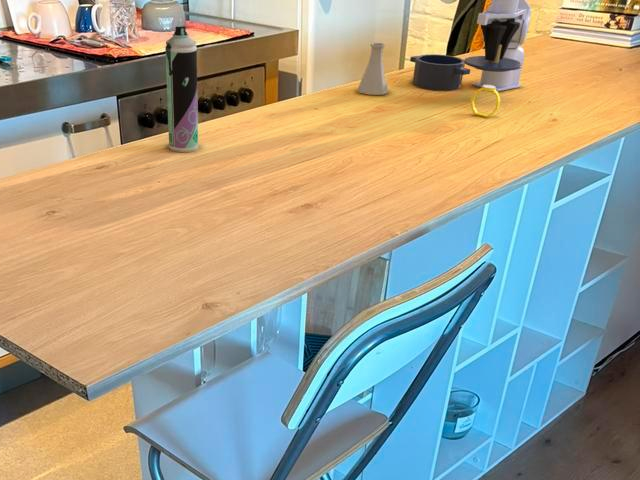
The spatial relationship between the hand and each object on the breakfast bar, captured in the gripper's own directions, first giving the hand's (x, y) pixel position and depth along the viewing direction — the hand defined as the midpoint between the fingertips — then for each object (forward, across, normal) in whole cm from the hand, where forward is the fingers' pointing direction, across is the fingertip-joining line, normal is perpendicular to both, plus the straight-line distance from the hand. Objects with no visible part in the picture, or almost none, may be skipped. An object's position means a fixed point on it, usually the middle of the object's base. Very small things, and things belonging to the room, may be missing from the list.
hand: (493, 59), depth 181 cm
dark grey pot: (+9, -4, -18) cm, 20 cm away
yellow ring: (+9, +10, +7) cm, 15 cm away
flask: (+9, +15, -21) cm, 28 cm away
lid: (+1, 0, 0) cm, 1 cm away
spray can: (+9, +78, -11) cm, 79 cm away
